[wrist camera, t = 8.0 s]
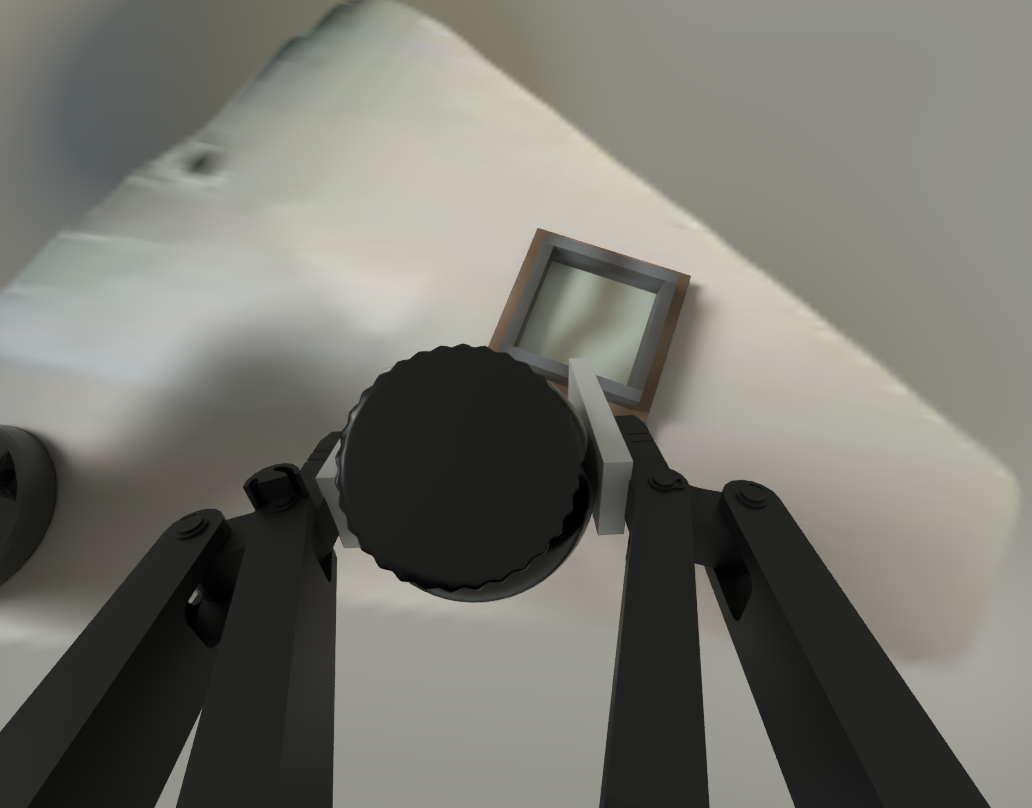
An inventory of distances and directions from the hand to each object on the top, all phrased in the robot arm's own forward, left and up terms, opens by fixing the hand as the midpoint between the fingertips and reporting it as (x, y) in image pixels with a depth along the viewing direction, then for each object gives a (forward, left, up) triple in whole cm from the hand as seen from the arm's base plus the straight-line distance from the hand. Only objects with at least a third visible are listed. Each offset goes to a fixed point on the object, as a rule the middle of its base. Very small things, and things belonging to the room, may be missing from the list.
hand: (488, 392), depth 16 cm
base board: (+3, +11, -18) cm, 21 cm away
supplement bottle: (+1, -3, -4) cm, 5 cm away
